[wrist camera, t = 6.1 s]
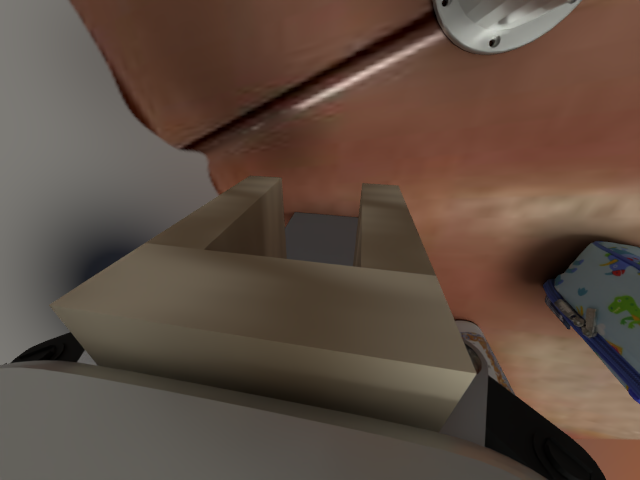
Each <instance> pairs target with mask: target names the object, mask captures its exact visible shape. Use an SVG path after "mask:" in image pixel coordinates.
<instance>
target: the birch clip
mask: <svg viewBox="0 0 640 480" xmlns="http://www.w3.org/2000/svg"><path fill="white" fill-rule="evenodd" d="M49 306H50V307H51V308H52V309H53V311H54V312H55V313H56V314H57V316H58V317H59V318H60V319H61V321H62V322H63V323H64V324H65V326H66V327H67V328H68V329H69V330H70V332H71V333H72V334H73V335H74V337H75V338H76V339H77V340H78V342H79V343H80V344H81V345H82V347H83V348H84V349H85V350H86V352H87V353H88V354H89V355H90V357H91V358H92V359H93V360H94V362H95V363H96V364H97V365H98V366H103V367H109V368H115V369H121V370H127V371H132V372H137V373H143V374H148V375H153V376H159V377H164V378H169V379H175V380H180V381H186V382H191V383H196V384H201V385H207V386H212V387H217V388H222V389H227V390H233V391H238V392H243V393H248V394H253V395H259V396H264V397H269V398H274V399H279V400H284V401H290V402H295V403H300V404H305V405H310V406H315V407H320V408H325V409H330V410H335V411H340V412H345V413H350V414H355V415H360V416H365V417H370V418H375V419H380V420H384V421H389V422H393V423H398V424H403V425H407V426H412V427H416V428H421V429H426V430H430V431H434V432H438V433H439V431H440V430H441V428H442V427H443V425H444V423H445V422H446V420H447V419H448V417H449V416H450V414H451V413H452V411H453V410H454V408H455V406H456V405H457V403H458V402H459V400H460V399H461V397H462V396H463V394H464V393H465V391H466V390H467V388H468V386H469V385H470V383H471V382H472V380H473V379H474V377H475V376H476V374H477V373H476V371H475V368H474V366H473V363H472V361H471V359H470V356H469V354H468V351H467V349H466V347H465V344H464V342H463V339H462V337H461V335H460V332H459V330H458V327H457V325H456V323H455V320H454V318H453V316H452V313H451V311H450V308H449V306H448V304H447V301H446V299H445V296H444V294H443V292H442V289H441V287H440V284H439V282H438V280H437V277H436V275H435V272H434V270H433V268H432V265H431V263H430V260H429V258H428V256H427V253H426V251H425V248H424V246H423V244H422V241H421V239H420V237H419V234H418V232H417V229H416V227H415V225H414V222H413V220H412V217H411V215H410V213H409V210H408V208H407V205H406V203H405V201H404V198H403V196H402V193H401V191H400V189H399V186H395V185H380V184H365V183H362V191H361V200H360V208H359V217H358V226H357V234H356V243H355V252H354V260H353V266H345V265H336V264H327V263H318V262H309V261H300V260H292V259H287V254H286V238H285V223H284V207H283V192H282V178H276V177H261V176H249V177H247V178H246V179H244V180H243V181H241V182H239V183H238V184H236V185H235V186H233V187H232V188H230V189H229V190H227V191H226V192H224V193H222V194H221V195H219V196H218V197H216V198H215V199H213V200H212V201H210V202H208V203H207V204H206V205H204V206H202V207H201V208H199V209H198V210H196V211H194V212H193V213H191V214H190V215H188V216H187V217H185V218H184V219H182V220H180V221H179V222H177V223H176V224H174V225H173V226H171V227H170V228H168V229H166V230H165V231H164V232H162V233H160V234H159V235H157V236H156V237H154V238H153V239H151V240H149V241H148V242H146V243H145V244H143V245H142V246H140V247H139V248H137V249H135V250H134V251H132V252H131V253H129V254H128V255H126V256H125V257H123V258H121V259H120V260H118V261H117V262H115V263H114V264H112V265H111V266H109V267H107V268H106V269H104V270H103V271H101V272H100V273H98V274H97V275H95V276H93V277H92V278H90V279H89V280H87V281H86V282H84V283H83V284H81V285H80V286H78V287H76V288H75V289H73V290H72V291H70V292H69V293H67V294H66V295H64V296H62V297H61V298H59V299H58V300H57V301H55V302H53V303H52V304H50V305H49Z"/></svg>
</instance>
